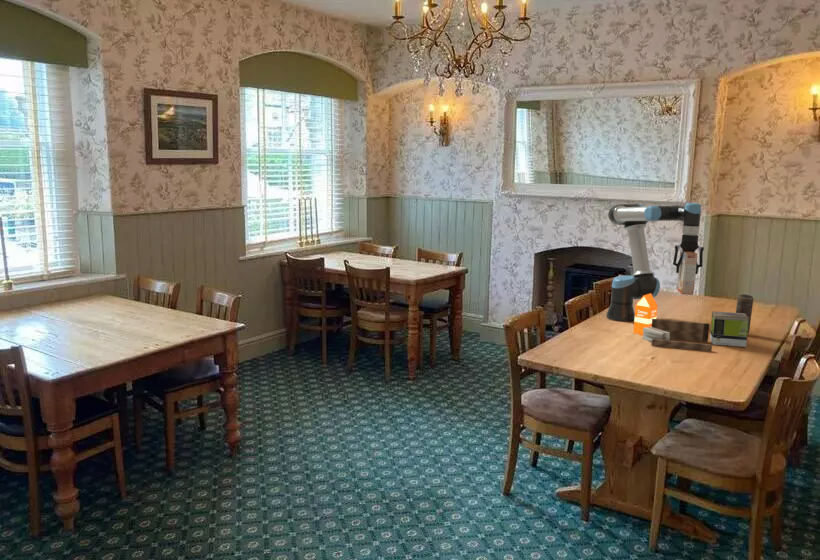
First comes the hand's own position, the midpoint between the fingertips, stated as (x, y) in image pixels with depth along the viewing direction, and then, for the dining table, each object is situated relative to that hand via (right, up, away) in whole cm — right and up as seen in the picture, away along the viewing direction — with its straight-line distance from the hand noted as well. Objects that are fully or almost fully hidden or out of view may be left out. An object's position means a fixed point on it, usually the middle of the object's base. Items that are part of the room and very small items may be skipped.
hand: (686, 279), depth 339 cm
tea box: (+14, -31, -15) cm, 37 cm away
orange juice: (-20, -27, +2) cm, 34 cm away
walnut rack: (-10, -31, -17) cm, 36 cm away
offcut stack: (-21, -30, -14) cm, 39 cm away
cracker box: (0, -7, +1) cm, 7 cm away
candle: (+30, -28, +4) cm, 41 cm away
